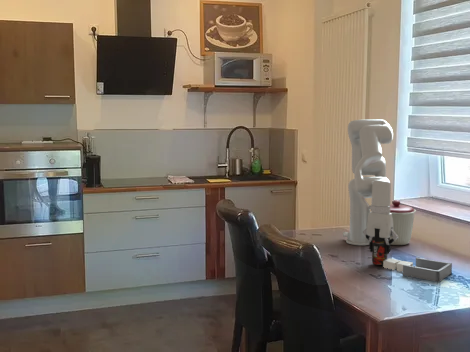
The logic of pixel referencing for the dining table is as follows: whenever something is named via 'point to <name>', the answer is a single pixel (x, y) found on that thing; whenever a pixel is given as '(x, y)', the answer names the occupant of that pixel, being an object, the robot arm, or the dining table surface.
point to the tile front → (401, 263)
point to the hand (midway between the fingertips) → (379, 251)
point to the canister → (402, 222)
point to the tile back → (390, 263)
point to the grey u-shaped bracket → (428, 269)
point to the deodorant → (378, 249)
